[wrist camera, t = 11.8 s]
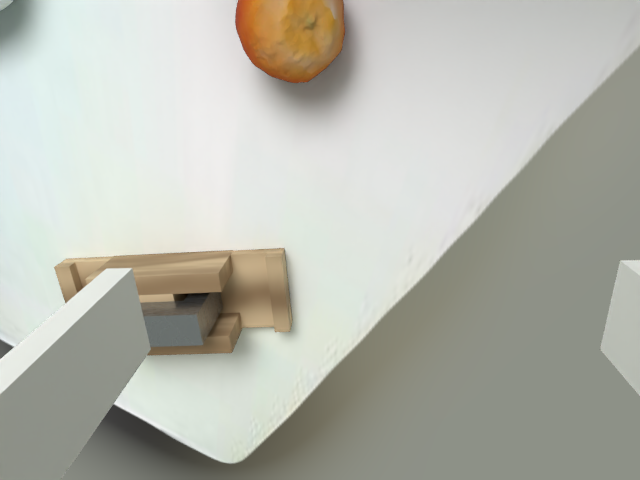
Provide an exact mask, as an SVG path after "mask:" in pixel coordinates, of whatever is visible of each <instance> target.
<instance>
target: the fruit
mask: <svg viewBox="0 0 640 480" xmlns="http://www.w3.org/2000/svg"><path fill="white" fill-rule="evenodd" d="M235 23H236V29H237V33H238V35H239V38H240V41H241V43H242V46H243V49H244V51H245V53H246V54H247V56H248V57H249V59H250V60H251V62H252V63H253V64H254V65H255V66H256V67H258V68H260V69H261V70H263V71H264V72H266V73H267V74H268V75H270V76H272V77H275V78H278V79H281V80H284V81H288V82H292V83H299V82H308V81H310V80H311V79H312V78H314V77H315V76H317V75H318V74H319V73H320V72H322V71H323V70H324V69H326V68H327V67H328V65H329V64H330V63H331V62H332V61H333V60H334V59H335V58H336V57H337V55H338V54H339V53H340V52H341V50H342V44H343V39H344V35H345V27H344V5H343V0H238V3H237V8H236V21H235Z"/></svg>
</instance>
